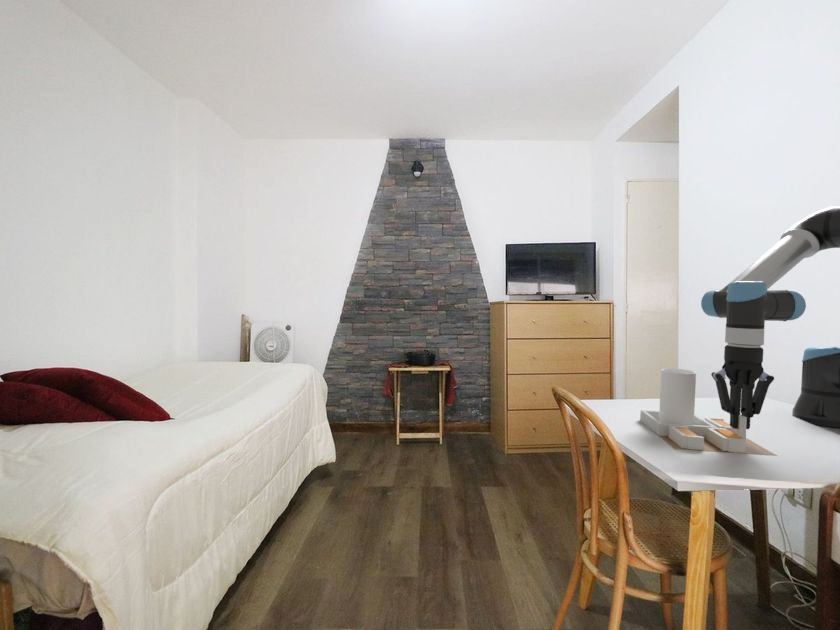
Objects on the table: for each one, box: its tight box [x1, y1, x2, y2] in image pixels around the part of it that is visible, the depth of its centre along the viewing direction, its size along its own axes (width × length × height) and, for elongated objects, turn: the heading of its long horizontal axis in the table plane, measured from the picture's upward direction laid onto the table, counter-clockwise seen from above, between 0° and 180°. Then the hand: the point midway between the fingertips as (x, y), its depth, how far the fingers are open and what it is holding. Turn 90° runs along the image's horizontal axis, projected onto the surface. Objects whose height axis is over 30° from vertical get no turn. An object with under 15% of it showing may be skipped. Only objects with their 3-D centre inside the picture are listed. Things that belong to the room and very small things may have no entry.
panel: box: [645, 424, 778, 457], centre depth 114 cm, size 22×24×1 cm
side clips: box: [669, 417, 733, 451], centre depth 112 cm, size 18×19×3 cm
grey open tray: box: [706, 428, 746, 454], centre depth 107 cm, size 4×9×3 cm, turn 171°
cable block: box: [716, 430, 743, 439], centre depth 106 cm, size 3×6×3 cm, turn 171°
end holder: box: [639, 409, 718, 438], centre depth 119 cm, size 14×14×3 cm
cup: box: [659, 368, 697, 425], centre depth 119 cm, size 8×8×16 cm
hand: (738, 441), depth 106 cm, fingers closed
